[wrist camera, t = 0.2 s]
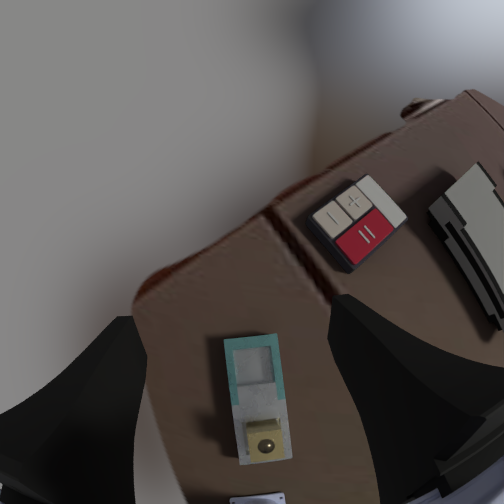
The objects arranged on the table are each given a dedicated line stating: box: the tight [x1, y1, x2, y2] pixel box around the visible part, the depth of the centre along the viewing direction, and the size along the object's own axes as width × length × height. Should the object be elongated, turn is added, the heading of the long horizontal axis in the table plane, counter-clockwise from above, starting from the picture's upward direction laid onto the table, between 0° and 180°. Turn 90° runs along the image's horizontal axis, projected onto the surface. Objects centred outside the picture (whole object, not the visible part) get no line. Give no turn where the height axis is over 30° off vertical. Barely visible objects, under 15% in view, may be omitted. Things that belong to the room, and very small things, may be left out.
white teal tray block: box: [224, 334, 292, 465], centre depth 35 cm, size 18×7×3 cm, turn 7°
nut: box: [246, 419, 285, 463], centre depth 30 cm, size 4×4×6 cm
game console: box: [427, 161, 504, 332], centre depth 42 cm, size 21×32×8 cm, turn 33°
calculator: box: [305, 174, 408, 274], centre depth 45 cm, size 11×4×15 cm
